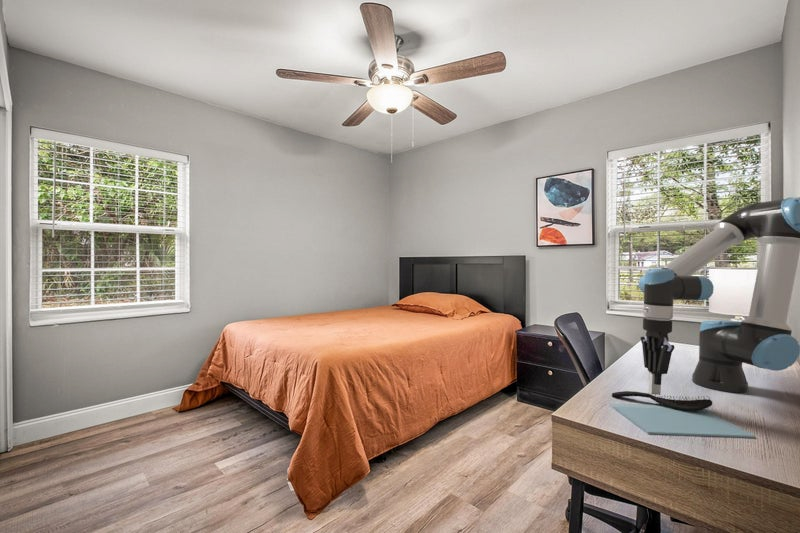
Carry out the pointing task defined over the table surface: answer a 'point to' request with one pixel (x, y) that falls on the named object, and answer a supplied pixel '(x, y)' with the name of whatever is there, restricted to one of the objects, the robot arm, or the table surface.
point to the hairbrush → (671, 401)
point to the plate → (678, 421)
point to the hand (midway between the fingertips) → (654, 393)
